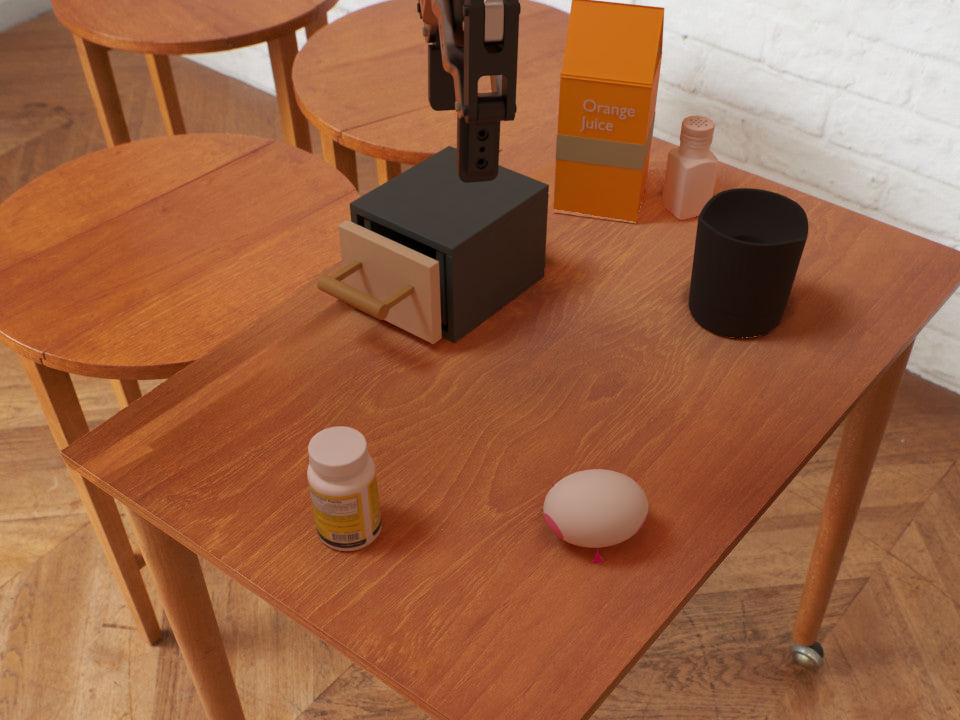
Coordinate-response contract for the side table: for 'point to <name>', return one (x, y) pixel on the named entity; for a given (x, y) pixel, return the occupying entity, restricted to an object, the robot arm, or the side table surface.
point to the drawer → (391, 278)
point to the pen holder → (745, 261)
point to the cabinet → (467, 232)
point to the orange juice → (607, 107)
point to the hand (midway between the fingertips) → (461, 141)
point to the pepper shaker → (691, 169)
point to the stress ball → (595, 508)
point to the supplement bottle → (343, 489)
